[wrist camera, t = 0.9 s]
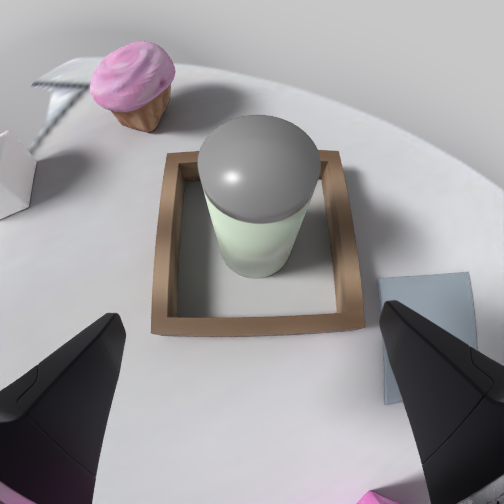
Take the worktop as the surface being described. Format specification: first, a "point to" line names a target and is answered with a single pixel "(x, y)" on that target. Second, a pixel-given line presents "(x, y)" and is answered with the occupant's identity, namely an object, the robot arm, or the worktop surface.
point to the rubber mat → (430, 310)
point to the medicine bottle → (14, 175)
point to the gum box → (375, 499)
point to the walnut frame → (168, 324)
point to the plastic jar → (258, 189)
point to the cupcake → (134, 84)
